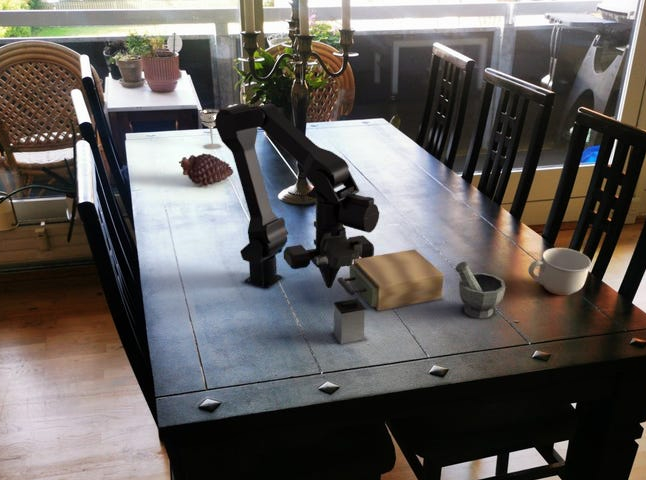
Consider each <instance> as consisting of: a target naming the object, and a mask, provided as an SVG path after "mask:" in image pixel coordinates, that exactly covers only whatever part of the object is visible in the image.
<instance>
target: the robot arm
mask: <svg viewBox="0 0 646 480" xmlns="http://www.w3.org/2000/svg"><path fill="white" fill-rule="evenodd" d="M215 125H216V126H215V128H216V130H217V133H218V135H219V138H220V141H221V142H222V144H224V145H225V146H226V147H227V148H228V150H229V151H230V152H231V154H232V157H233V160H234V163H235V167H236V170H237V174H238V179H239V181H240V185H241V188H242V192H243V196H244V199H245V204H246V207H247V210H248V214H249V221H248V222H249V223H248V228H247V238H248V244H246V245H245V246H244V247H243V248H242V249H241V250H240V255H241V258H242V260H243V261H245V262H248V268H249V276H248V277H246V278H245V279H244V283H246V284H250V285H253V286H257V287H260V288H263V289H269V288H270V287H272V286H273V285H274V284H276V283H277V282H279V281H280V280H281V279H283V275H281V274H277V273H278V272H277V255H278V254H281V253H282V252H283V260H284V261H285V263H287V265H288V266H289V267H290V268H291V269H292V270H299V269H305V268H308V267H309V266H310V265H311V262H312V264H313V265H314V266H315V267H316V268H317V269H318V270H319V272H320V274H321V277H322V280H323V282H324V285H325V288H327V289H332V288H333V285H334V283H335V281H336V278H337V276H338V273H339V271H340V269H341V268H342V267H350V266H351V265H352V264H353V263H354V259H359V258H367V257H373V256H375V246H374V244H373V243H372V242H371V241H370V240H369V239H368V238H367V237H366V236H365V235H363V234H361V235H357V236H356V235H354V236H350V237H347V231H346V230H347V229H346V227H347V228H349V229H354V230H357V231H361V232H365V233H368V234H370V233H372V232H373V231H374V230H375V229H376V227H377V225H378V222H379V219H380V211H379V207H378V205H377V204H375V198H374V197H372V196H364V195H360V194H359V193H360V188H359V186H358V185H357V183H356V181H355V179H354V177H353V175H352V174H351V172H350V170H349V167H350V166H349V164H348V163H347V161H346V160H345V159H343V158H342V157H341V156H339V155H337V154H336V153H334V151H331V150H328V149H326V148H321V147H320V146H318V145H317V144H316V143H314V141H312V140H311V139H310V138H309V137H308V136H307V135H305V133H303V132H302V131H301V130H300V129H299V128H298V127H297V126H296V125H295V124H294V123H293V122H291V121H290V120H289V119H288V118H287V117H286V116H285V115H284V114H282V112H280V110H279V108H278V107H277V105H275V104H273V103H266V104H261V105H260V104H259V105H254V106H249V105H248V104H246V103H238V104H235V105H231V106H229V107H225V108H222V109H220V110H219V112H218V113H217V115H216V117H215ZM258 128H260V129H262V130H263V132H265V134H267V135H268V136H269V137H270V138H271V139H272V140H273V141H274V142H275V143H277V144H278V145H279V146H280V147H281V149H283V150H284V151H286V152H287V154H289V156H290V157H292V158H293V159H294V160H295V161H296V163H298V164H299V165H300V166H301V168H302V171H303V174H304V176H305V178H306V180H307V181H309V183H310V184H311V185H312V186H313V187H312V189H311V190H309V192H306V197H308V198H311V199H315V221H313V227H314V228H315V239H313V245H314V246H315V248H310V249H306V248H305V247H304V246H303V245H302V244H297V245H291V246H286V244H287V243H288V235H289V231H288V230H287V227H286V221H285V218H284V217H278V216H277V215H276V214H275V213H274V212H273V210H272V206H271V202H270V198H269V195H268V191H267V188H266V187H267V186H266V184H265V180H264V176H263V172H262V169H261V165H260V161H259V158H258V155H257V154H258V153H257V150H256V142H257V137H258ZM341 186H343V188H340V189H339V190H335V189H337V188H339V187H341ZM285 246H286V247H285ZM284 247H285V248H284ZM283 249H284V250H283Z"/></svg>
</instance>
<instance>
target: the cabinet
mask: <svg viewBox="0 0 646 480" xmlns="http://www.w3.org/2000/svg"><path fill="white" fill-rule="evenodd" d="M353 264H355V265H356V266H357V267H358V268H359V269H360V270H362V272H363V273H364V274H365V275H366V276H367V277H368V278H369V279H370V280H371V281H372V282H373V283H374V284H375V285H376V286H377V287H378V296H377V306H374V307H373V308H375V309H376V310H377V311H378V312H379V311H384V310H389V309H393V308H400V307H406V306H410V305H415V304H421V303H426V302H427V303H428V302H433V301H438V300H442V295H443V285H444V275H445V274H444V273H443V272H442V271H441V270H439V269H438V268H437V267H436V266H435V265H434V264H433V263H431V262H430V261H429V260H428V259H427V258H425V257H424V256H423V255H422V254H421V253H419V251H418V250H416V249H407V250H402V251H395V252H389V253H382V254H377V255H374V256H373V257H367V258H361V257H359V259H353Z"/></svg>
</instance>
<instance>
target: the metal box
mask: <svg viewBox="0 0 646 480" xmlns="http://www.w3.org/2000/svg"><path fill="white" fill-rule="evenodd" d="M366 309H367V307H366V306H365V305H364V303H363V302H362V301H361V300H360V299H359V298H358V297H355V298H349V299H345V300H340V301H334V302H333V336H334V337H335V338H336V339H337V341H338V342H339V344H340V345H342V344H343V345H344V344H349V343H354V342H358V341H363V340H365V319H366V315H365V314H366Z"/></svg>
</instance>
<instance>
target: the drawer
mask: <svg viewBox="0 0 646 480" xmlns="http://www.w3.org/2000/svg"><path fill="white" fill-rule="evenodd" d="M348 274H349V275H348V277H345V278H344V277H343V276H340V277H338V278H337V282H338V284H339V285H340V286H341V287H342V288H343V290H344V291H345V292H346V293H347V294H348V295H349V296H350V297H354V296H356V294H360V295H361V297H363V299H364V300H365V301H366V302H368V304H369V306H371V307H373V308H375V307H374V306H377V296H378V287H377V286H376V285H375V284H374V283H373V282H372V281H371V280H370V279H369V278H368V277H367V276H366V275H365V274H364V273H363V272H362V270H360V269H359V268H358V267H357V266H356V265H355V264H354V263H352V265H351V266H349V273H348ZM348 282H349V283H348ZM350 284H351V285H352V286H353V287H352V286H351V285H350ZM353 288H355V289H353Z"/></svg>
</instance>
